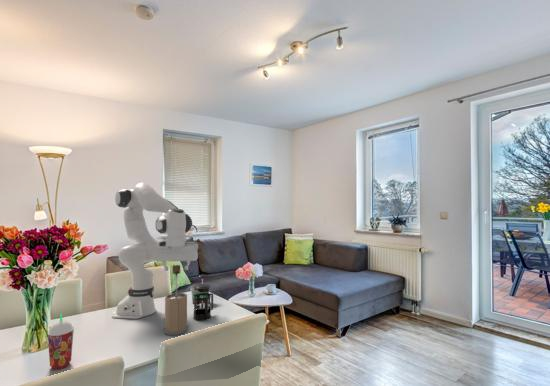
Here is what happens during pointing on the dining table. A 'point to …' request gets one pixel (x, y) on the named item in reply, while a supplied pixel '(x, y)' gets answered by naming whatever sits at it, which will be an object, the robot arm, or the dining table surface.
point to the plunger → (176, 271)
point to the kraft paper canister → (175, 315)
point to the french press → (202, 308)
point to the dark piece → (197, 293)
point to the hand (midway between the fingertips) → (176, 270)
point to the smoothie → (60, 343)
